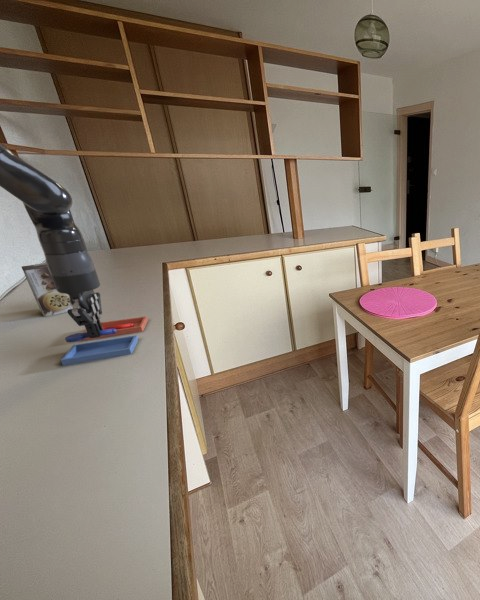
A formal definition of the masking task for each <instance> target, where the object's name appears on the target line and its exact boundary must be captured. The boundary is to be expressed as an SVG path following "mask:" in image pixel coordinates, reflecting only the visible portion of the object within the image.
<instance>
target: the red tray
mask: <svg viewBox="0 0 480 600" xmlns="http://www.w3.org/2000/svg"><path fill="white" fill-rule="evenodd" d="M100 322H101V321H100ZM148 322H149V320H148V317H147V316H139V317H129V318H123V319H116V320H108V321H102V322H101V325H102V327H108V326H115V325H123V324H130V323H132V324H134V327H131V328H124V329H117V332H116V333H115V334H109V335H102V336H100V337H97V338H84V339H82V341H88V340H94V339H102V338H108V337H115V336H122V335H128V334H134V333H135V334H136V333H141V332H142V333H143V331H144V329H145V328H146V325H147V323H148ZM85 332H87V331H86V330H84V332H83V333H85Z"/></svg>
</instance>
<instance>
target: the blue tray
mask: <svg viewBox="0 0 480 600" xmlns="http://www.w3.org/2000/svg"><path fill="white" fill-rule="evenodd" d="M138 342H139V337H138V335H136V334H135V335H129V336H122V337H116V338H110V339H103V340H96V341H90V342H83V343H78V344H77V343H76V344H72V346H71V347H70V349H68V351H67V352H66V353H65V354H64V355H63V357H61V359H60V363H61V365H62V366H65V367H66V366H69V365H77V364H82V363H87V362H93V361H99V360H104V359H110V358H116V357H121V356H127V355H132V353H133V352H134V349H135V348H136V346H137V344H138Z"/></svg>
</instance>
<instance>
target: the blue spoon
mask: <svg viewBox="0 0 480 600" xmlns="http://www.w3.org/2000/svg"><path fill="white" fill-rule="evenodd" d="M84 332H85V331H84ZM84 332H77V333H72V334H69V335H67V336H65V338H64V339H65V342H66V343H76V342H80V341H83V339H84V338H89V336H88V333H87V332H85V333H84ZM100 332H101V336H102V335H109V334H115V333H116V332H117V330H116V329H106V330H100Z"/></svg>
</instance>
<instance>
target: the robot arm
mask: <svg viewBox="0 0 480 600" xmlns="http://www.w3.org/2000/svg"><path fill="white" fill-rule="evenodd" d="M0 188H2V189H3V190H5V191H6V192H8V193H9V194H11V195H12V196H13V197H15V198H16V199H18V200H19V201H21V203H22V204H23V207H24V208H25V210H26V211H25V212H26V213H27V215H28V216H29V219H30V220H31V223H32V224H33V226H34V229H35V232H36V236H37V239H38V242H39V244H40V247H41V250H42V252H43V254H44V255H43V256H44V258H45V263H46V264H47V267H48V269H49V272H50V274H51V277H52V279H53V282H54V284H55V287H56V289H57V291H58V292H59V293H63V294H64V293H65V294H68V295H69V297H70V300H69V302H70V305H71V306H72V307H73V309H68V311H67V312H66V313H67V315H69V317H70V318H71V319H72V320H73V322H75V323H76V324H77V326H79V327H81V326H82V327H83V326H84V328H85V331H87V333H88V336H89V338H96V339H98V338H97V337H100V336H101V332H100V330H103V328H102V325H101V318H102V317H101V315H103V309H102V300H101V293H100V292H95V290H96V289H98V288H99V287H100V286H101V282H100V279H99V276H98V273H97V269H96V267H95V265H94V261H93V259H92V256H91V255H90V253H89V251H88V248H87V244H86V242H85V240H84V236H83V234H82V232H81V230H80V229H79V227H78V226H77V225H76V223H75V220H74V217H73V214H72V211H71V209H72V207H73V198H72V195H71V193H70V192H69V191H68V190H67V189H66V188H65V187H64V186H62V185H61V184H59V183H58V182H57V181H55V180H53V179H52V178H51V177H50V176H48V175H47V174H45V173H44V172H42V171H40V170H39V169H37V168H36V167H34V166H32V165H31V164H29V163H28V162H26V161H25V160H23V159H22V158H21V157H20V156H19V155H17V154H16V153H15V152H14V151H13V150H11V148H8V146H6V145H5V144H3V143H2V142H0Z"/></svg>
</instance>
